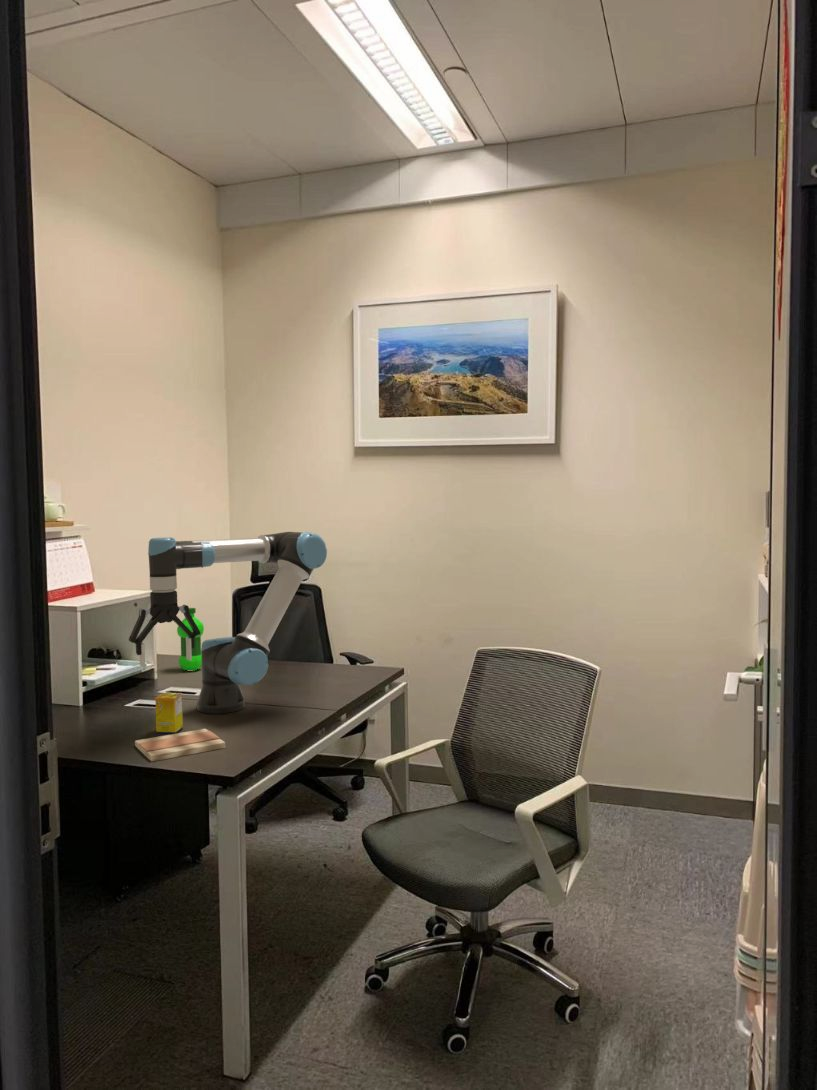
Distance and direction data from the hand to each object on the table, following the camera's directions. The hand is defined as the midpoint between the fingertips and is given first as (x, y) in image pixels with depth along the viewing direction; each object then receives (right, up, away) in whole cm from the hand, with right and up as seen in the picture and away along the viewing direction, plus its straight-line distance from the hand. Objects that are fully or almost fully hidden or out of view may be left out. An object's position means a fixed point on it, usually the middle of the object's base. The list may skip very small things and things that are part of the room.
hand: (166, 662), depth 229 cm
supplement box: (+1, -21, +1) cm, 21 cm away
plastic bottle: (-16, -16, +86) cm, 89 cm away
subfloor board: (+8, -21, -13) cm, 26 cm away
